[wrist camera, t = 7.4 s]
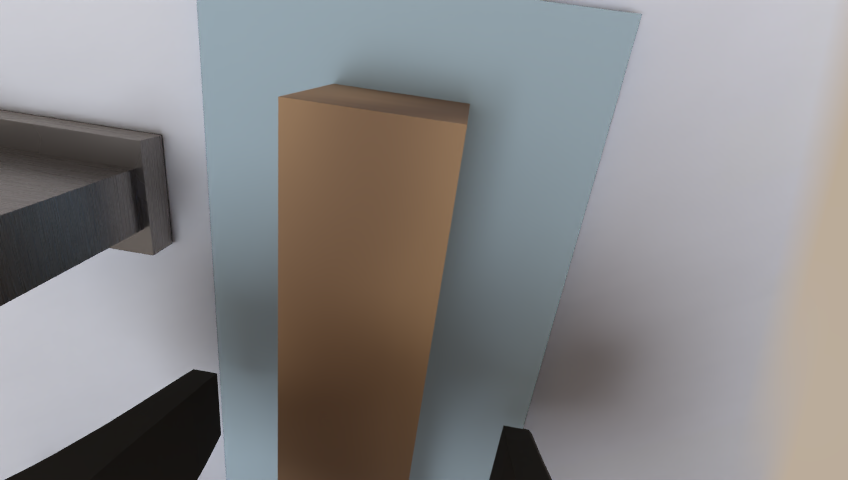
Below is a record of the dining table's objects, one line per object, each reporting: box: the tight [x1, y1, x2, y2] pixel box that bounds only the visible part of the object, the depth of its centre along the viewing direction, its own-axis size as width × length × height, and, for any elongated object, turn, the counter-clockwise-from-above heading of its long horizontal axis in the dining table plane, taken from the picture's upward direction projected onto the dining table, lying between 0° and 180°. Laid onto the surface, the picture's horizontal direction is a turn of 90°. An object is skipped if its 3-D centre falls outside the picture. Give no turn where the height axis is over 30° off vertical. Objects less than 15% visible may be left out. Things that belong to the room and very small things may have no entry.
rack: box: [0, 110, 172, 306], centre depth 12 cm, size 6×16×5 cm, turn 173°
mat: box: [197, 0, 642, 480], centre depth 13 cm, size 9×20×1 cm, turn 173°
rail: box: [278, 84, 470, 480], centre depth 12 cm, size 3×16×3 cm, turn 173°
